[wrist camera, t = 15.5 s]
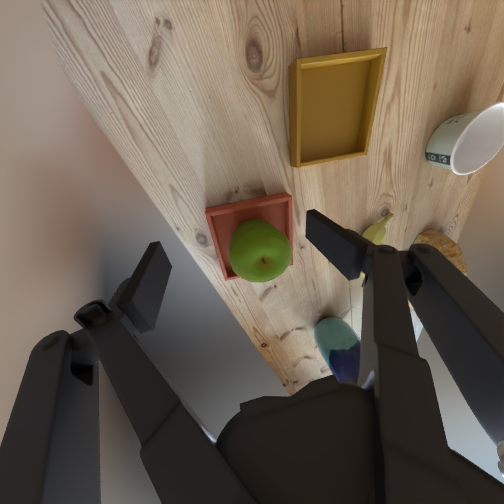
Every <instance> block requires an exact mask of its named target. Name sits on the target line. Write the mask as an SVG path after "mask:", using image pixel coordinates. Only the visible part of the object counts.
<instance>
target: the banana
mask: <svg viewBox="0 0 504 504" xmlns="http://www.w3.org/2000/svg"><path fill="white" fill-rule="evenodd" d="M393 217H394V214H392V213H387V215H386V217H385V218H384V220H382V221H381V222H379V223H377V224H374V225H371V226H370V227H368V228H367V229H366V230H365V232H364V233H363V234H362V236H363V238H364V237H365V238H366V239H368V240H369V241H371V242H373V243H374V244H376V245H381V243H382V241H383V239H384V236H385V233H386V229H385V225H386V223H387V222H388V221H389V220H391V219H392V218H393ZM360 276H361V277H362V278H364V277H365V274H364V273H363V272H362V271H361V273H360Z"/></svg>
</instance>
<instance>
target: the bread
mask: <svg viewBox="0 0 504 504" xmlns="http://www.w3.org/2000/svg"><path fill="white" fill-rule="evenodd" d="M416 243H421V244H428V245H431V246H433V247H435V248H437V249H438V250H439V251H440V252H441V253H442V254H443V255H444V256H445V257H446V258H447V259H448V260H450V261H451V262H452V263H453V264H454V265H455V266H456V267H457V268H458V269H459V270H460V271H461V272H462V273H463V274H464V275H465V276H466V275H467V265H466V262H465V259H464V256H463V254H462V252H461V250H460V247H459V245H458V244H457V243H455V242H454V241H453V240H451V239H450V238H449V237H447V236H446V235H445V234H443V233H441V232H438V231H436V230H433V229H429V230H427V231H425V232H423V233H421V234H419V235H418V236H417V238H416V240H415V242H414V243H413V244H416ZM408 303H409V307H411V308H412V309H413V307H412V305H411V303H410V302H409V300H408ZM413 310H414V309H413ZM414 311H415V310H414Z"/></svg>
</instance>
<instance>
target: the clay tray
mask: <svg viewBox="0 0 504 504" xmlns="http://www.w3.org/2000/svg"><path fill="white" fill-rule="evenodd" d="M205 214H206V218H207V221H208V224H209V228H210V231H211V235H212V238H213V241H214V245H215V248H216V252H217V255H218V258H219V262H220V265H221V269H222V272H223V275H224V279H225V281H227V280H231V279H236V278H240V276H238V275H237V274H236V273H234V271H233V269H232V266H231V264H230V259H229V246H230V243H231V239H232V236H233V233H234V231H235V229H236V227H238V226H239V225H240V224H241V223H243V222H244V221H248V220H251V219H263V220H265V221H266V222H268V223H270V224H271V225H273V226H274V227H275V228H277V229H278V230H280V231H282V232H283V233H284V234H285V235H286V236H287V238H288V240H289V241H290V243H291V247H292V258H291V262H290V265H289V266H291V265H293V228H292V196H291V195H290V194H288V193H287V192H285V193H280V194H275V195H270V196H265V197H260V198H255V199H250V200H245V201H240V202H235V203H229V204H224V205H219V206H214V207H209V208H206V211H205Z"/></svg>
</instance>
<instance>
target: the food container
mask: <svg viewBox="0 0 504 504" xmlns="http://www.w3.org/2000/svg"><path fill="white" fill-rule="evenodd" d="M503 145H504V101H500V102H496V103H494V104H491V105H490V106H488V107H486V108H482V109H479V110H475V111H471V112H468V113H464V114H461V115H457V116H453V117H451V118H449V119H447V120H446V121H444V122H443V123H442V124H441V125H440V126H439V127H438V128H437V129H436V130H435V132H434V133H433V134H432V136H431V138H430V140H429V142H428V144H427V148H426V160H427V161H428V162H429V163H430V164H433V165H436V166H439V167H442V168H446V169H449V170H452V171H453V172H454V173H456V174H458V175H466V174H470V173H472V172H474V171H476V170H478V169H480V168H481V167H483V166H484V165H485V164H486V163H488V162H489V161H490V160H491V159H492V158H493V157H494V156H495V155H496V154H497V153H498V151H499V150H500V149H501V148H502V146H503Z"/></svg>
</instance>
